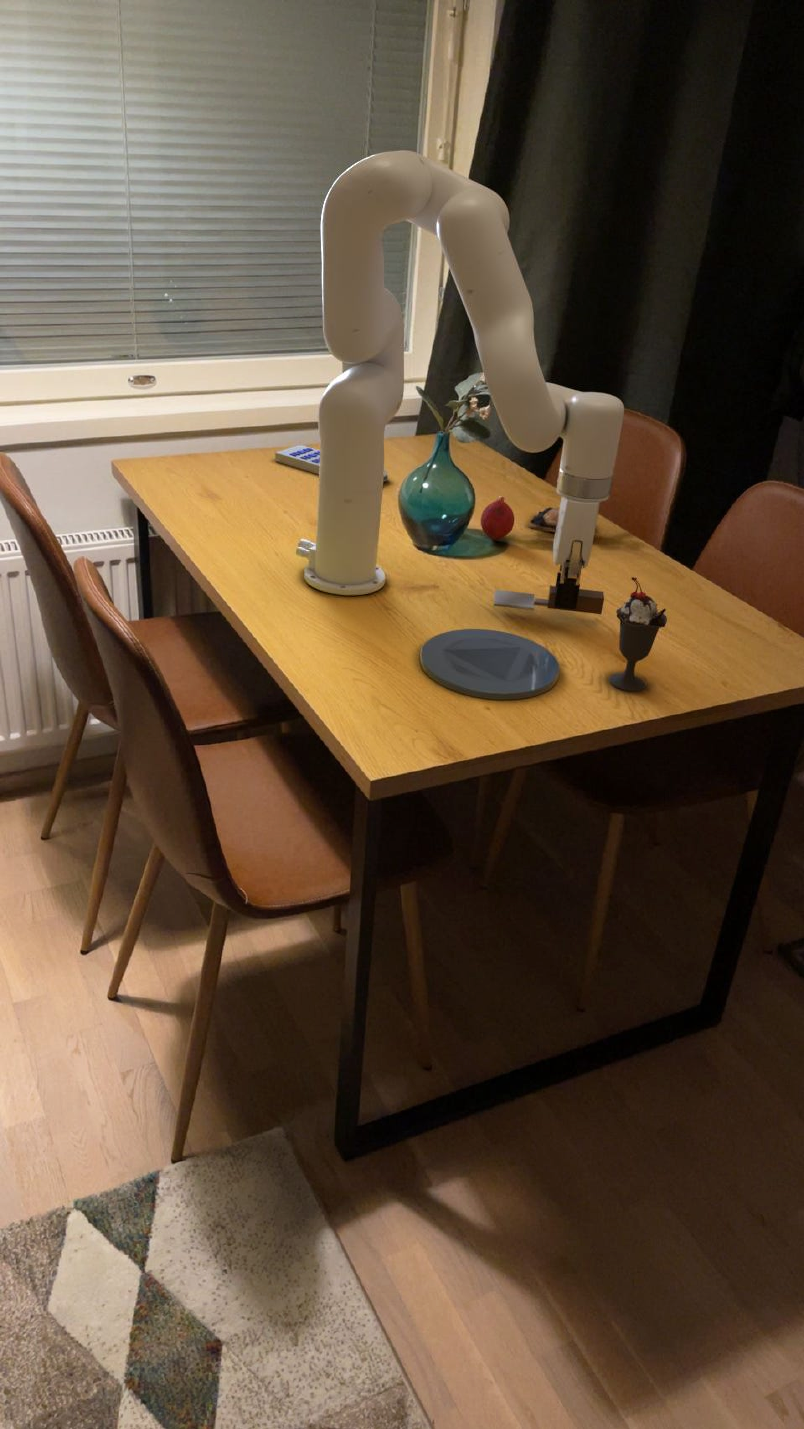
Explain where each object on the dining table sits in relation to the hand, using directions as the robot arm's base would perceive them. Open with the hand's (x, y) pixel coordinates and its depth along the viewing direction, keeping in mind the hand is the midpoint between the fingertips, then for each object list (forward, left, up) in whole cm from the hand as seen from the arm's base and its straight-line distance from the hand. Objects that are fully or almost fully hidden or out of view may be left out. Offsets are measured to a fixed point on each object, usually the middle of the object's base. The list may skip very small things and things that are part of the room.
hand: (564, 602), depth 168 cm
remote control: (-65, +33, -3) cm, 72 cm away
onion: (-23, +22, -3) cm, 31 cm away
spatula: (-2, -1, -1) cm, 3 cm away
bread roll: (-17, +37, -3) cm, 41 cm away
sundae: (+15, -13, -3) cm, 21 cm away
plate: (-2, -21, -3) cm, 21 cm away
